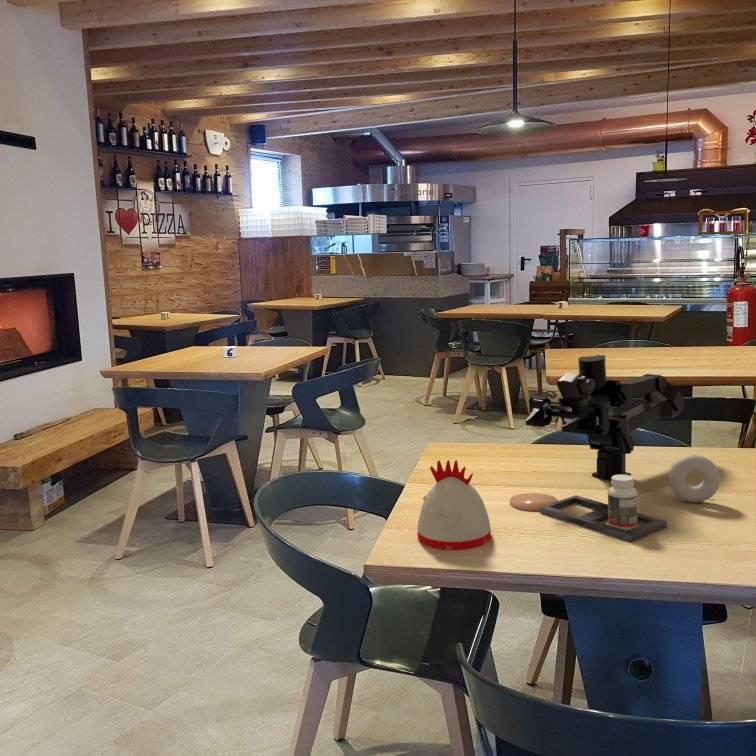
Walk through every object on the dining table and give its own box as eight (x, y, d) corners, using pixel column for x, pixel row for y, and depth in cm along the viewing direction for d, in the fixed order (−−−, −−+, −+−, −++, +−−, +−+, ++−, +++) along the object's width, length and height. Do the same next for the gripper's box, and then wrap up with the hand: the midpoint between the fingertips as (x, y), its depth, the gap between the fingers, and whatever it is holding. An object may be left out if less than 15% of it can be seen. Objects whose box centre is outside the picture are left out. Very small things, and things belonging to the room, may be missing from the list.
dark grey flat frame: (575, 500, 169) (575, 495, 169) (667, 527, 151) (667, 521, 151) (540, 512, 163) (539, 506, 163) (630, 542, 145) (630, 535, 145)
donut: (718, 500, 165) (719, 453, 164) (720, 505, 162) (722, 458, 160) (667, 498, 168) (668, 452, 166) (668, 503, 165) (669, 456, 163)
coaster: (532, 492, 176) (532, 490, 176) (567, 503, 168) (567, 500, 168) (499, 502, 170) (499, 500, 170) (534, 514, 162) (534, 511, 162)
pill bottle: (603, 522, 156) (603, 474, 154) (630, 520, 156) (630, 472, 154) (614, 532, 150) (614, 482, 149) (641, 530, 151) (642, 480, 149)
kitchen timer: (430, 521, 161) (428, 449, 158) (498, 527, 156) (496, 452, 153) (408, 546, 148) (404, 468, 146) (480, 553, 143) (478, 473, 141)
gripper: (549, 366, 181) (505, 384, 171) (622, 374, 167) (579, 393, 157) (552, 413, 183) (509, 433, 173) (625, 425, 169) (583, 447, 160)
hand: (544, 426), depth 166 cm, fingers open, 9 cm apart
